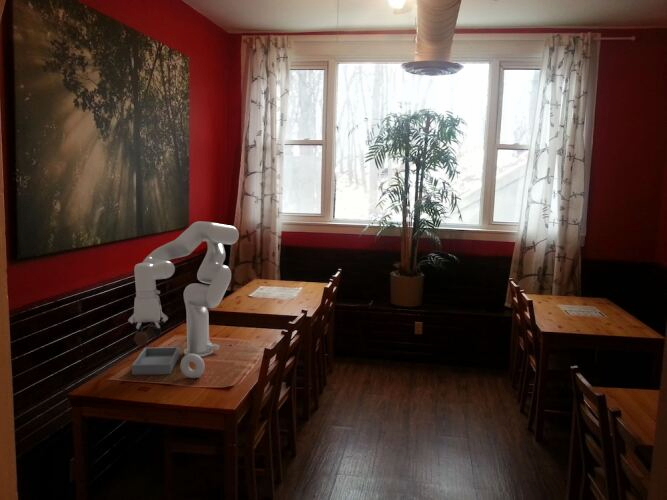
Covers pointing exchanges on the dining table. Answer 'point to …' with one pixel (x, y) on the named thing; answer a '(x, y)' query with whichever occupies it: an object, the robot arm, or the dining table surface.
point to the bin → (156, 361)
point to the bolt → (145, 335)
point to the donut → (187, 370)
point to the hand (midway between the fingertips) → (149, 336)
